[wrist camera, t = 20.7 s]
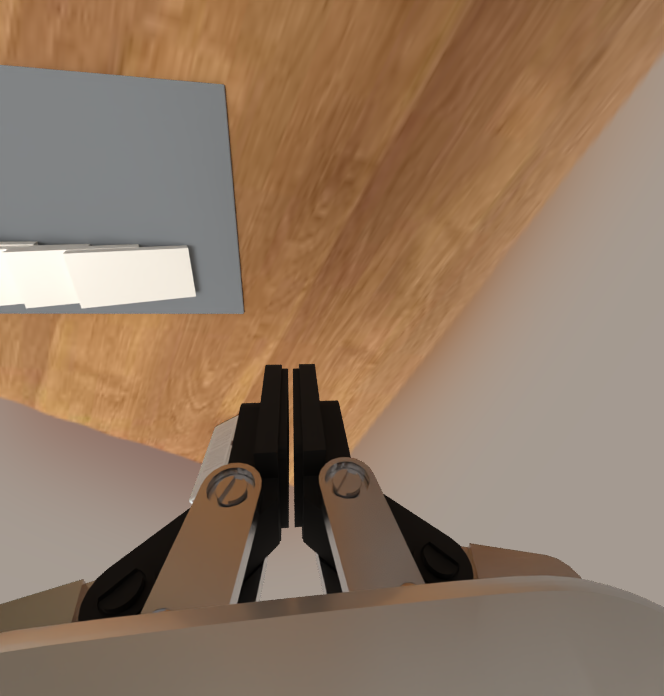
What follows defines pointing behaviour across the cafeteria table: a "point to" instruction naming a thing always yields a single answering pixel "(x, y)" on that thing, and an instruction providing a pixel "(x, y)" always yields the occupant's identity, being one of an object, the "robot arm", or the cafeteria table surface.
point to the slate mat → (121, 175)
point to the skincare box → (216, 452)
